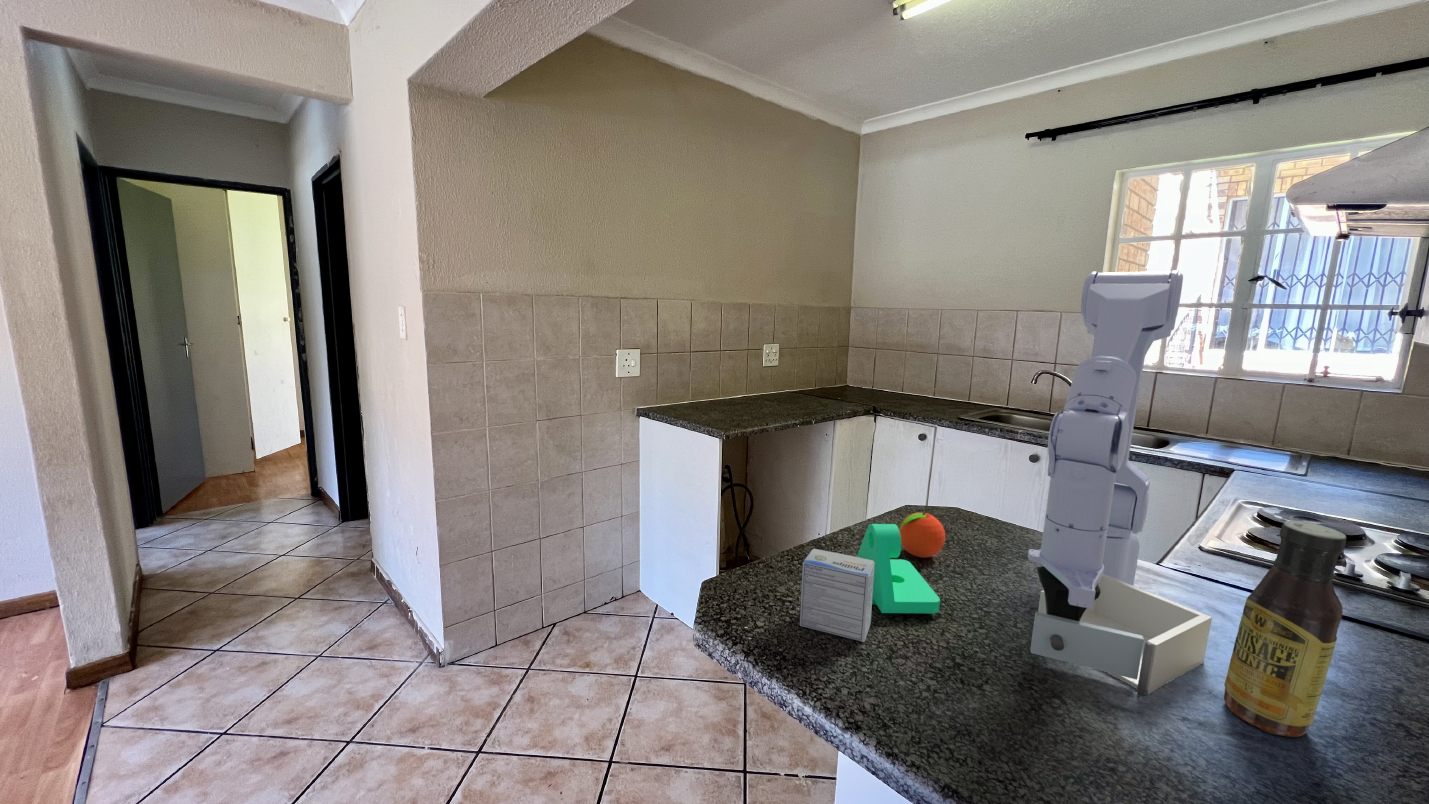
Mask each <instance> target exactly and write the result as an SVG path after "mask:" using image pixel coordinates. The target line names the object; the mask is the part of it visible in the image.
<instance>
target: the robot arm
mask: <svg viewBox="0 0 1429 804" xmlns="http://www.w3.org/2000/svg"><path fill="white" fill-rule="evenodd" d="M1183 281H1184V275H1183V273H1181V272H1180V270H1178V269H1176V270H1173V269H1172V271H1134V272H1133V271H1123V272H1122V271H1121V272H1119V271H1117V272H1098V271H1091V272H1090V274H1089V275H1087V276H1086V278H1085V280H1084V283H1083V287H1082V291H1081V292H1082V293H1081V301H1080V313H1081V316H1082V318H1083V324H1084V326H1085V328H1086V330H1087V334H1089V335H1092V336H1094V340H1093V346H1092V347H1093V348H1092V351H1091V358H1090V357H1089V358H1087V359H1084V360H1083V361H1082V362H1080V363H1079V364H1078V365H1077V367H1076V369H1075V371H1074V375H1073V377H1072V381H1071V383H1070V384H1071V385H1070V388H1069V391H1068V393H1067V397H1066V401H1065V404H1064V405H1063V410H1062V412H1055V413H1054V416H1053V418H1052V419H1051V420H1052V421H1051V423H1050V428H1049V432H1048V438H1047V439H1048V441H1047V451H1048V465H1047V476H1048V477H1049V478H1050V479H1049V483H1048V484H1049V485H1048V493H1047V494H1048V495H1047V499H1046V501H1047V502H1046V508H1045V515H1044V516H1045V517H1044V524H1043V532H1042V539H1041V548H1040V549H1033V548H1030V549H1028V551H1027V557H1028V560H1029V561H1030V562H1034V563H1039V564H1040V565H1042V566H1038V567H1037V568H1036V571H1037V574H1038V577H1039V581H1040V583H1041V585H1042V588H1043V590H1044V593H1045V600H1046V613H1047V614H1048V615H1053V616H1057V617H1062V618H1066V619H1071V620H1075V621H1080V619H1081V617H1082V615H1083V613H1084V612H1085V610H1086V609H1087V608H1089V609H1093V605H1094V601H1095V600H1096V599H1097V598H1098V597H1099V595H1100V592H1101V590H1100V588H1099V586H1098V582H1099V580H1100V579H1101V577H1102V575H1103V574H1105V575H1108V576H1110V577H1113V578H1115V579H1118V580H1120V581H1123V582H1125V583H1128V584H1130V585H1133V586H1135V587H1138V588H1140V589H1142V587H1141V585H1139V584H1136V583H1135V577H1136V571H1137V565H1138V559H1139V555H1140V554H1139V553H1140V546H1141V545H1140V542H1139V538H1138V534H1139V533H1141V532H1143V531H1144V526H1145V523H1146V518H1147V511H1148V505H1149V499H1150V492H1149V490H1150V484H1151V483H1150V481H1149V477H1148V475H1146V474H1145V473H1143V471H1141V470H1140V469H1139V468H1138V467H1136V465H1134V464H1133V463H1132V462H1131V461H1130V460H1129V459H1130V458H1129V457H1130V453H1131V452H1130V450H1131V445H1132V439H1133V432H1134V426H1135V420H1136V413H1137V409H1138V401H1139V394H1140V389H1141V383H1142V377H1143V371H1144V364H1145V358H1146V355H1147V354H1148V351H1149V349H1150V348H1151V346H1152V345H1153V343H1154V342H1156V341H1158V340H1163V339H1165V338H1166V339H1167V338H1169V337H1171V335H1172V334H1171V333H1172V332H1173V331H1174V330H1175V325H1176V320H1177V319H1176V318H1177V316H1178V311H1179V308H1180V302H1181V301H1180V300H1181V295H1182V288H1183Z"/></svg>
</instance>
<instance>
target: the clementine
mask: <svg viewBox="0 0 1429 804" xmlns="http://www.w3.org/2000/svg"><path fill="white" fill-rule="evenodd" d="M898 528H899V531H900V535H901V546H902V547H903V548H904V550H905V551H906V552H908V553H909V554H911V555H912V556H914V557H918V558H930V557H933V556H936V555H937V554H938V553H939V552H940V551H941V550H942V548H943V547H944V545H945V542H946V531H945V528H944V526H943V524H942V522H940V521H939V520H938V518H936V517H935V516H934V515H932V514H931V513H927V512H922V511H921V512H915V513H911V514H909V515H908V516H906V517H904V519H903V520H902V522H901V523H900V525H899V527H898Z"/></svg>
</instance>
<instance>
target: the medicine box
mask: <svg viewBox="0 0 1429 804" xmlns="http://www.w3.org/2000/svg"><path fill="white" fill-rule="evenodd" d="M874 566H875V562H874V561H873V560H868V559H863V558H859V557H857V556H853V555H849V554H843V553H840V552H835V551H834V552H833V551H828V550H823V549H817V548H813V549H811V551H810V552H809V553H808V554H807V556H806V558H804V560H803V561H802V571H801V572H802V574H801V576H802V577H801V591H800V592H801V595H800V596H801V597H800V612H799V613H800V614H799V617H800V618H799V626H800V627H804V628H808V629H811V630H816V631H820V632H823V633H827V634H830V635H833V636H839V637H843V638H845V639H846V638H847V639H850V640H855V641H859V642H862V643H865V642H866V639H867V635H868V632H869V629H870V626H871V623H872V611H873V610H872V609H873V608H872V594H873V579H874Z"/></svg>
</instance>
